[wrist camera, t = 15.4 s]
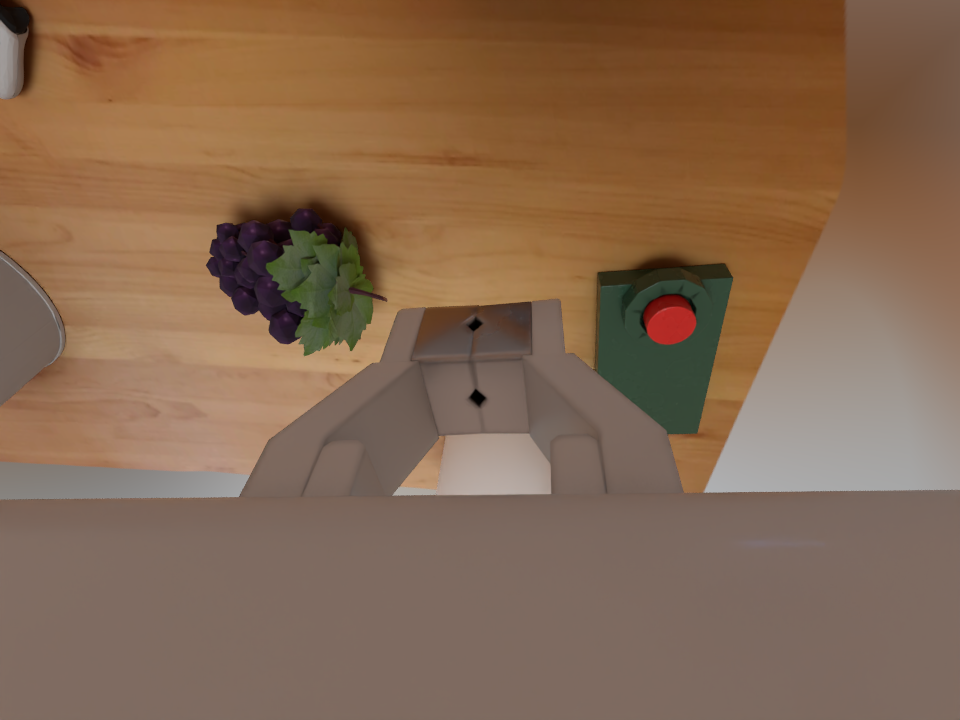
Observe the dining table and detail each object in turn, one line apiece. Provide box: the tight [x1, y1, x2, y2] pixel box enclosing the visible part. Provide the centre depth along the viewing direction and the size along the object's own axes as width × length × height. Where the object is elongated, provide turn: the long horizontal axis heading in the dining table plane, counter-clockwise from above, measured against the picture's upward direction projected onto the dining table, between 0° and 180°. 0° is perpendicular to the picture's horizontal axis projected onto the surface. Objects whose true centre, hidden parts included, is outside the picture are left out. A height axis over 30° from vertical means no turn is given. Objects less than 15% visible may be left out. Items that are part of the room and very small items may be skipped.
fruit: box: [206, 209, 387, 356], centre depth 38 cm, size 10×11×15 cm
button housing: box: [595, 264, 733, 434], centre depth 44 cm, size 19×10×4 cm, turn 7°
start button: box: [643, 294, 696, 345], centre depth 38 cm, size 4×4×2 cm
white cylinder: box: [436, 434, 551, 495], centre depth 51 cm, size 12×12×12 cm
